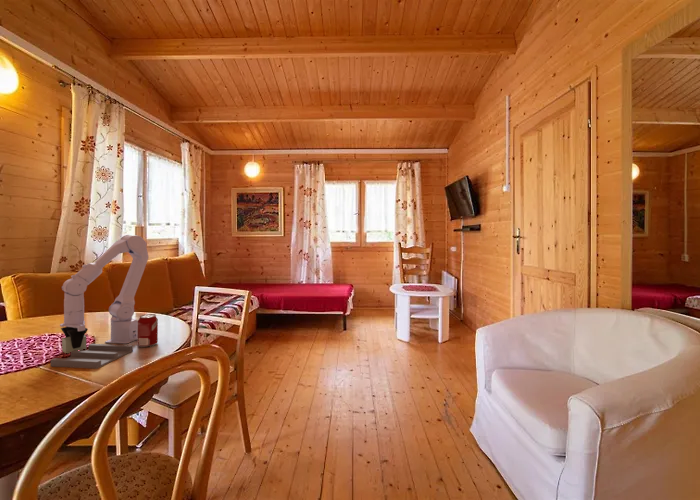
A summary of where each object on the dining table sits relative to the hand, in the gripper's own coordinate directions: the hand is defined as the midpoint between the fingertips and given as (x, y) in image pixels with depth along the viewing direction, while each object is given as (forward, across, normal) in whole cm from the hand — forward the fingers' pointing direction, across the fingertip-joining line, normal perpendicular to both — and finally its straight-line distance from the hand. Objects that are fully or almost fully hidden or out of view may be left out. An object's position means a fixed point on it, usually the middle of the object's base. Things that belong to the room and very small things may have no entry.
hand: (74, 346), depth 119 cm
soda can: (+2, +15, +19) cm, 24 cm away
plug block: (+1, 0, 0) cm, 1 cm away
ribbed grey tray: (+1, +15, +1) cm, 15 cm away
